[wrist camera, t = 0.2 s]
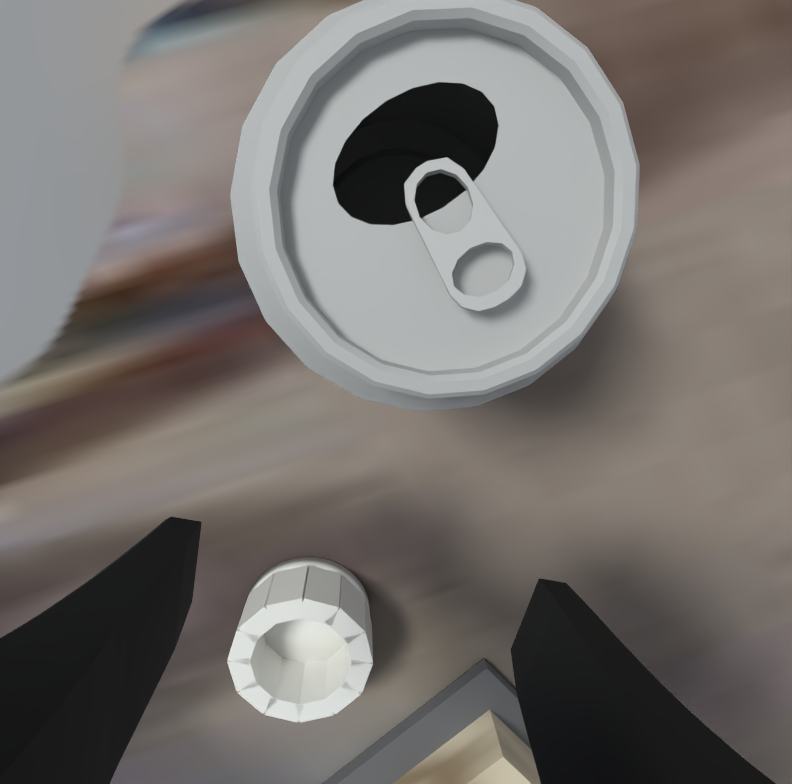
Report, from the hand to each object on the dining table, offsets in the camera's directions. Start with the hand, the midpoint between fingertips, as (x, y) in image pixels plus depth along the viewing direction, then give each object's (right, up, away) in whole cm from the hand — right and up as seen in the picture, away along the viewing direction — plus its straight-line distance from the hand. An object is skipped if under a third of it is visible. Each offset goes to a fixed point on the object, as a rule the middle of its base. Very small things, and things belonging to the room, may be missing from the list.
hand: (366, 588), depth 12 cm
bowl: (-3, -5, +12) cm, 13 cm away
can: (+1, +10, +9) cm, 13 cm away
